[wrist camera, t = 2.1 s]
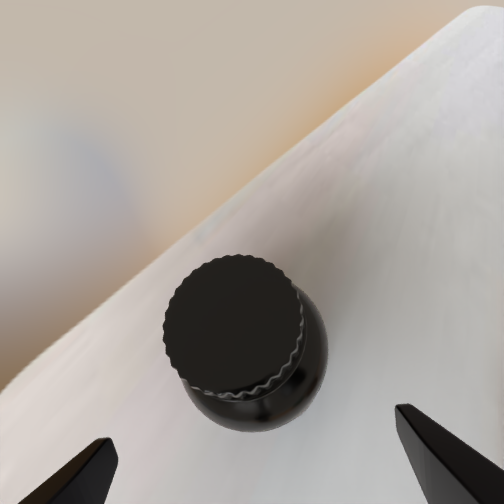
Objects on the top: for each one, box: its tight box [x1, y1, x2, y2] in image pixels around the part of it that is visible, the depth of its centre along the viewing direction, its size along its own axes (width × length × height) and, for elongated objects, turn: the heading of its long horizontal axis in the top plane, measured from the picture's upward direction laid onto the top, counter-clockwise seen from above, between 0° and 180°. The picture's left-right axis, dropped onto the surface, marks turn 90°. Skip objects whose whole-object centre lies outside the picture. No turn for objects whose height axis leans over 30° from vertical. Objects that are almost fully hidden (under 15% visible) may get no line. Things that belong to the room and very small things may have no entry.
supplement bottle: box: [163, 254, 328, 432], centre depth 14 cm, size 7×7×12 cm
